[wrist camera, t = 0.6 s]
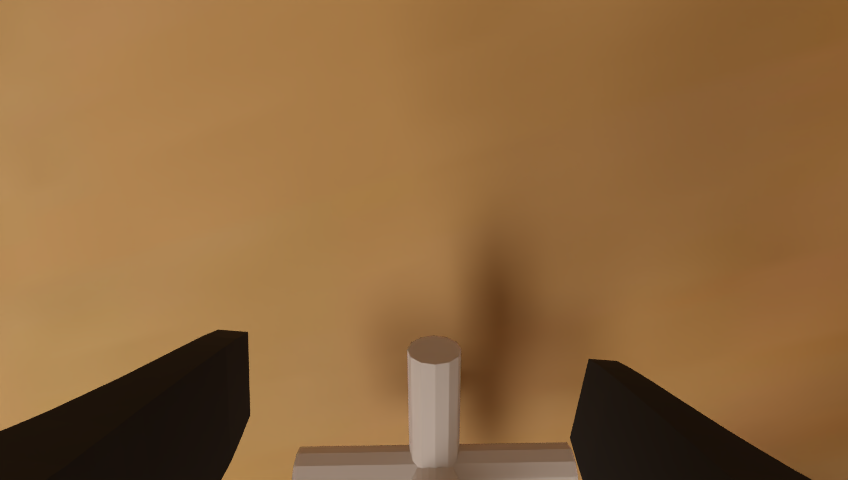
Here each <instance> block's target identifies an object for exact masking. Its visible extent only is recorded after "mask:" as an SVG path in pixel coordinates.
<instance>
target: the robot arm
mask: <svg viewBox="0 0 848 480" xmlns="http://www.w3.org/2000/svg"><path fill="white" fill-rule="evenodd" d="M249 417H250V392H249V354H248V332H240V331H228V330H216V331H214V332H211V333H209V334H207V335H204V336H202V337H200V338H198V339H196V340H194V341H192V342H190V343H188V344H186V345H184V346H182V347H180V348H178V349H176V350H174V351H172V352H170V353H168V354H166V355H164V356H162V357H160V358H158V359H156V360H154V361H152V362H150V363H148V364H146V365H144V366H142V367H140V368H138V369H136V370H134V371H132V372H130V373H128V374H127V375H125V376H123V377H120V378H118V379H116V380H114V381H112V382H110V383H108V384H106V385H103V386H101V387H99V388H97V389H95V390H93V391H91V392H88V393H86V394H84V395H82V396H80V397H78V398H76V399H73V400H71V401H69V402H67V403H65V404H63V405H60V406H58V407H56V408H54V409H52V410H50V411H47V412H45V413H43V414H40V415H38V416H36V417H33V418H31V419H29V420H26V421H24V422H21V423H19V424H17V425H14V426H12V427H9V428H7V429H4V430H2V431H0V480H221V479H222V477H223V475H224V474H225V472H226V470H227V468H228V466H229V464H230V463H231V460H232V458H233V456H234V453H235V451H236V449H237V446H238V444H239V442H240V439H241V437H242V434H243V432H244V429H245V427H246V424H247V422H248V419H249ZM570 439H571V443H572V446H573V450H574V453H575V457H576V460H577V464H578V467H579V470H580V473H581V476H582V479H583V480H811V479H809V478H808V477H806V476H804V475H802V474H800V473H799V472H797V471H795V470H793V469H792V468H790V467H788V466H786V465H785V464H783V463H781V462H780V461H778V460H776V459H775V458H773V457H771V456H770V455H768V454H766V453H765V452H763V451H761V450H760V449H758V448H756V447H754V446H753V445H751V444H749V443H748V442H746V441H744V440H743V439H741V438H740V437H738V436H736V435H735V434H733V433H732V432H730V431H728V430H727V429H725V428H724V427H722V426H720V425H719V424H717V423H716V422H714V421H712V420H711V419H709V418H708V417H706V416H705V415H703V414H702V413H700V412H698V411H697V410H695V409H694V408H692V407H691V406H689V405H688V404H686V403H684V402H683V401H681V400H680V399H678V398H677V397H675V396H674V395H672V394H671V393H669V392H668V391H666V390H664V389H663V388H661V387H660V386H658V385H657V384H655V383H654V382H652V381H650V380H649V379H647V378H646V377H644V376H642V375H641V374H639V373H638V372H636V371H634V370H633V369H631V368H629V367H627V366H625V365H623V364H622V363H620V362H618V361H609V360H597V359H589V360H588V364H587V368H586V373H585V377H584V381H583V385H582V389H581V394H580V398H579V402H578V406H577V410H576V415H575V419H574V423H573V427H572V431H571V436H570Z"/></svg>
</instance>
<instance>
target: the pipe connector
mask: <svg viewBox="0 0 848 480" xmlns="http://www.w3.org/2000/svg"><path fill="white" fill-rule="evenodd" d="M407 358H408V405H409V445H380V446H319V447H300V448H299V450H298V452H297V455H296V459H295V463H294V467H293V476H292V480H578V475H577V468H576V462H575V459H574V456H573V453H572V450H571V448H570V446H569V445H568V443H567V442H564V443H502V444H459V431H460V384H461V348H460V346H459V345H458V343H457V342H456V341H453V340H451V339H449V338H447V337H441V336H427V337H421V338H419V339H417V340H415V341H413V342H411V344H410V346H409V347H408V349H407Z"/></svg>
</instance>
